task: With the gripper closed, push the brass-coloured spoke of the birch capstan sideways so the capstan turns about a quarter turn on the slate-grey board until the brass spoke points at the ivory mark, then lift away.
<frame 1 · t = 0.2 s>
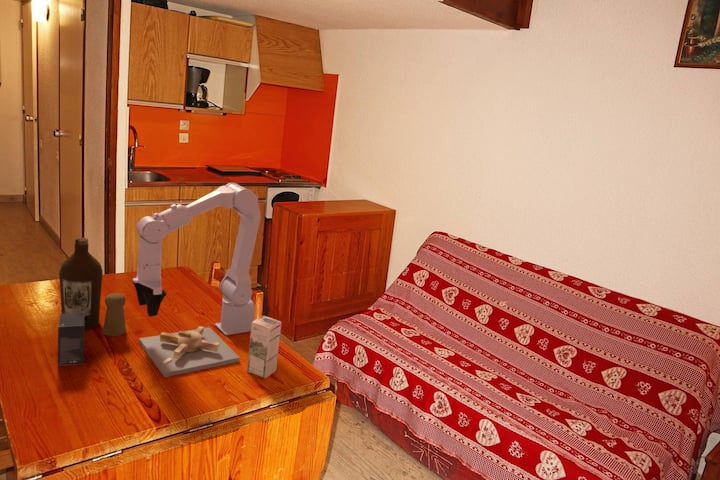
hand: (147, 309, 144), 10 cm above the table, tool pointing down, fingers open, 7 cm apart
syrup box: (261, 372, 140), on the table
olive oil: (80, 324, 151), on the table
cork: (114, 331, 150), on the table
box: (71, 358, 133), on the table
stand board: (188, 351, 144), on the table
capstan: (189, 340, 143), point 3 cm above the table, hinge at 0.0°
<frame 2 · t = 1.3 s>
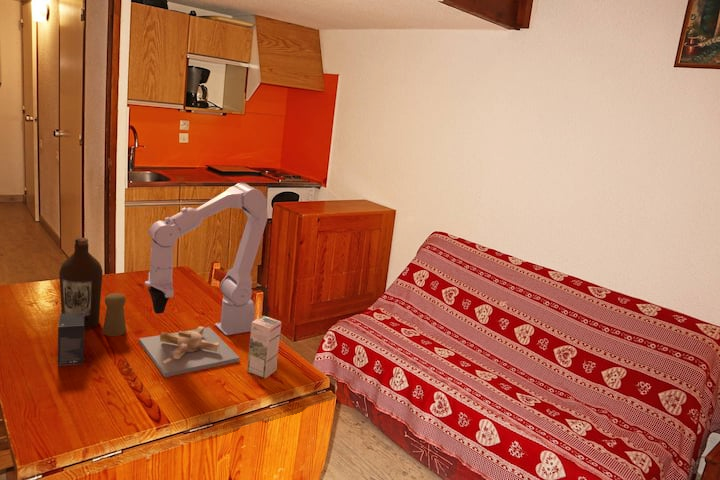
hand: (158, 312, 146), 8 cm above the table, tool pointing down, fingers closed
nothing on the table moved.
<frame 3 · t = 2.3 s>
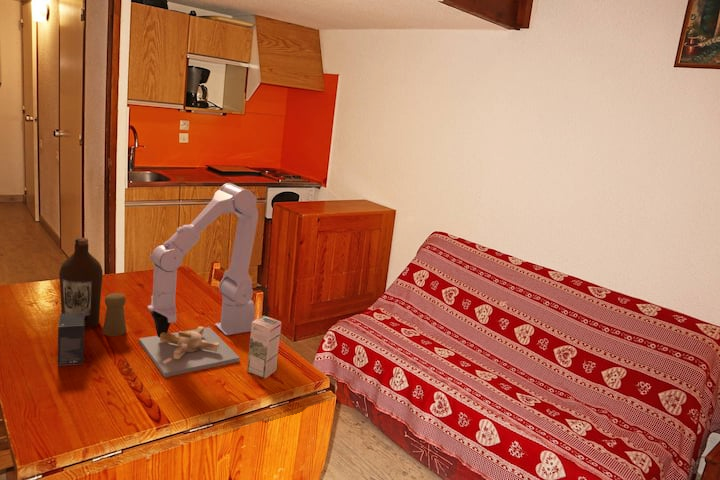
hand: (161, 336, 146), 2 cm above the table, tool pointing down, fingers closed, pressing on capstan
capstan: (189, 340, 143), point 3 cm above the table, hinge at 0.2°, touching gripper
everything else where it was.
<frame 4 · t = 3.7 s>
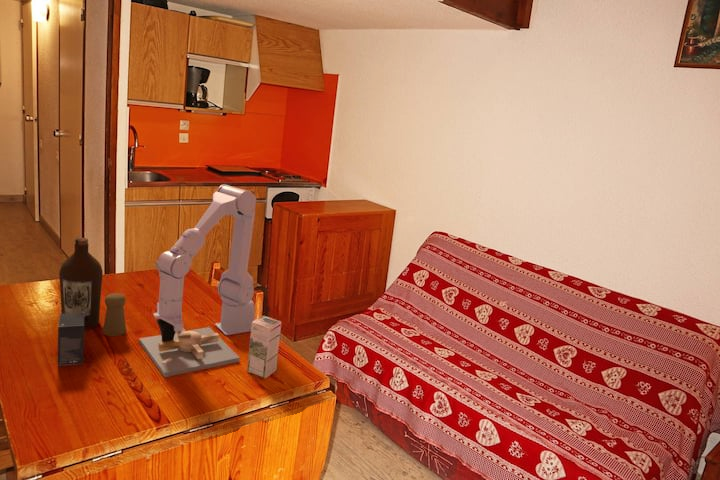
hand: (167, 345, 141), 3 cm above the table, tool pointing down, fingers closed, pressing on capstan
capstan: (189, 340, 143), point 3 cm above the table, hinge at 44.1°, touching gripper
everything else where it was.
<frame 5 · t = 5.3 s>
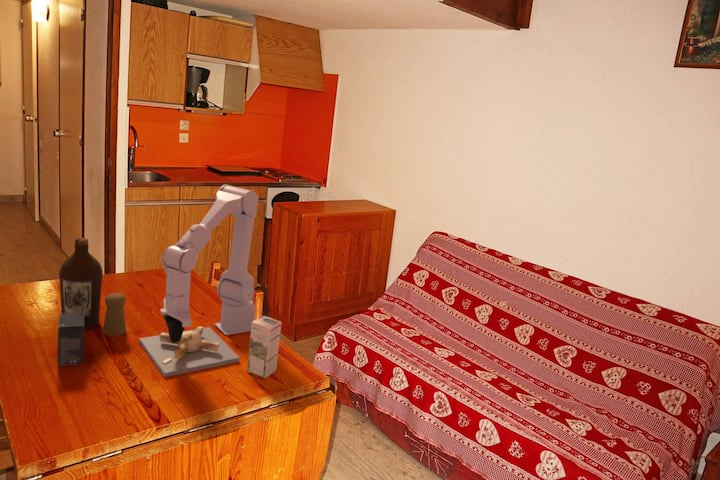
hand: (175, 341, 138), 5 cm above the table, tool pointing down, fingers closed
capstan: (189, 340, 143), point 3 cm above the table, hinge at 91.3°
everything else where it was.
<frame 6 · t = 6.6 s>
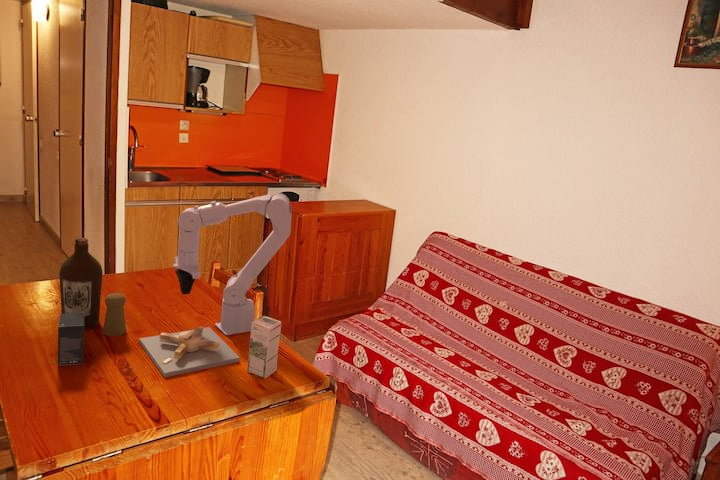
hand: (185, 293, 157), 10 cm above the table, tool pointing down, fingers closed
nothing on the table moved.
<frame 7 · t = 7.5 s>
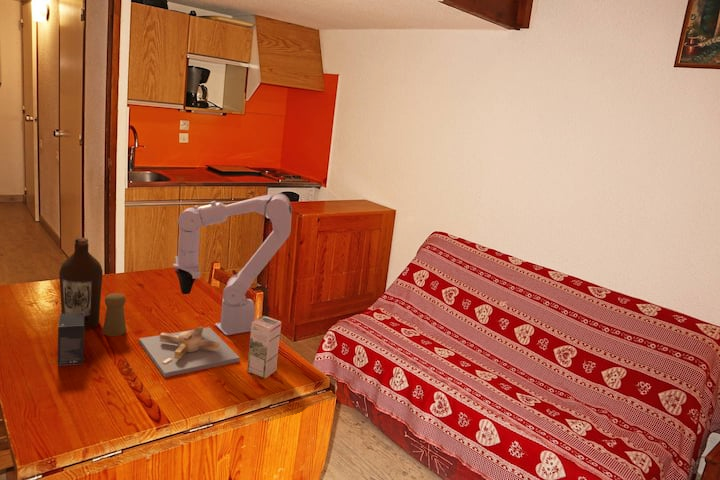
hand: (185, 293, 157), 10 cm above the table, tool pointing down, fingers closed
nothing on the table moved.
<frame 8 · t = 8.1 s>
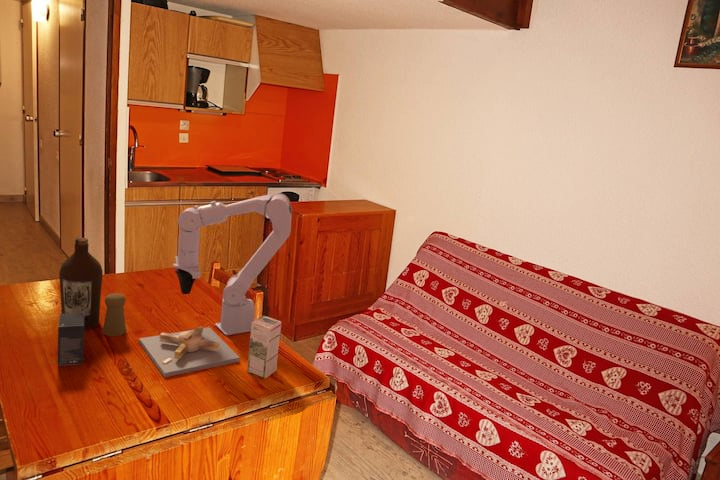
hand: (185, 293, 157), 10 cm above the table, tool pointing down, fingers closed
nothing on the table moved.
at the end: capstan at +92° (first picture: +0°); capstan 0.0 cm from the target spot, resting on stand board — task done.
